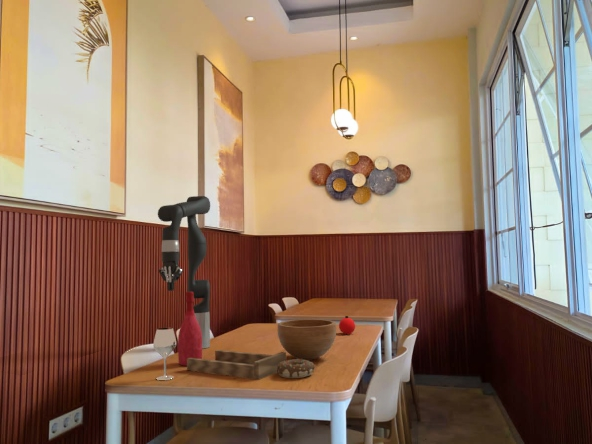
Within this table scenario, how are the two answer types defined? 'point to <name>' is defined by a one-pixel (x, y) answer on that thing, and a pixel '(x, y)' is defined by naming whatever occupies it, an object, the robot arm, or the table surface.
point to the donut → (295, 368)
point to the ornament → (347, 325)
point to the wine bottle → (189, 334)
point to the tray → (238, 364)
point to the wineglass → (165, 346)
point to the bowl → (307, 337)
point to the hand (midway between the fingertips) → (170, 290)
